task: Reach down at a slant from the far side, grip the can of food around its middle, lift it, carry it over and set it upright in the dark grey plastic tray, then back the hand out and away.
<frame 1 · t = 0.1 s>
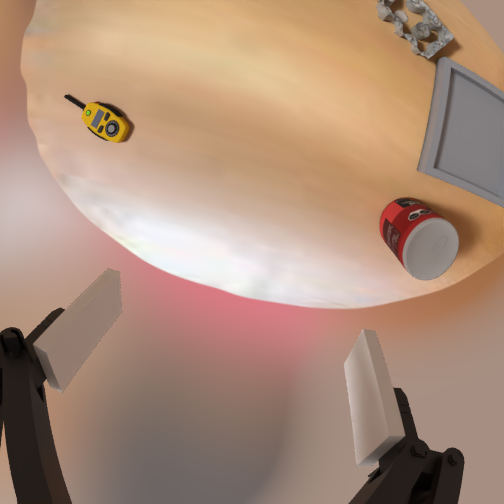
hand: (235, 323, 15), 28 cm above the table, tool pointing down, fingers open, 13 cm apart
canned food: (401, 221, 40), on the table
yellow walkie talkie: (95, 113, 38), on the table
tray: (474, 134, 32), on the table
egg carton: (408, 25, 27), on the table
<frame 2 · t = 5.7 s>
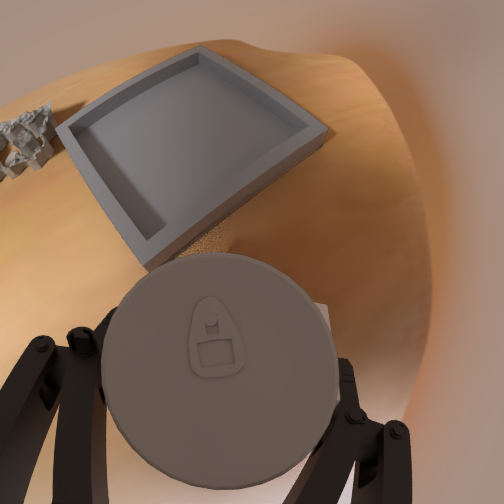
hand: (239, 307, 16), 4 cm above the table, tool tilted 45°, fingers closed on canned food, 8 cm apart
canned food: (227, 364, 19), on the table, touching gripper
tray: (179, 137, 24), on the table
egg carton: (24, 155, 24), on the table
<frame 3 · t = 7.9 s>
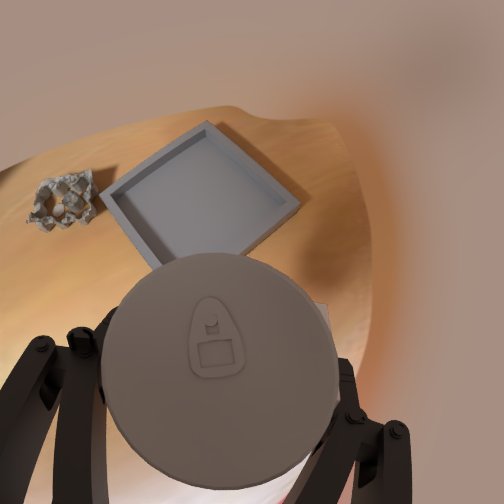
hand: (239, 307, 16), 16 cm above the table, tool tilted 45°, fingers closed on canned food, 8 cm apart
canned food: (227, 364, 19), point 13 cm above the table, touching gripper
tray: (195, 206, 36), on the table
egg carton: (69, 208, 36), on the table
when the fingers open (6 cm above the table, at t = 11.5 s): canned food drops 1 cm, resting on tray.
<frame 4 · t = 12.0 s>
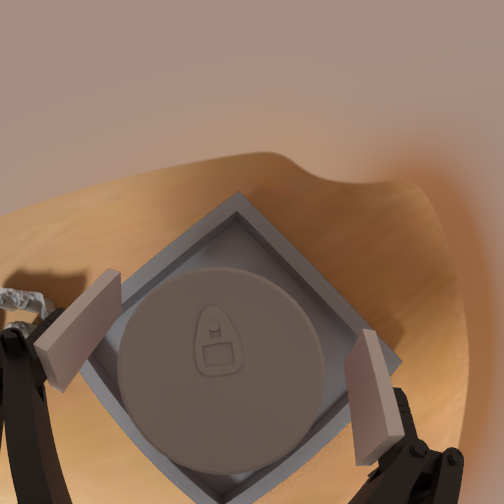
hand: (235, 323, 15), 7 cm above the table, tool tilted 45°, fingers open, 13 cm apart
canned food: (227, 364, 20), point 1 cm above the table, touching tray
tray: (228, 363, 21), on the table
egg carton: (25, 334, 20), on the table
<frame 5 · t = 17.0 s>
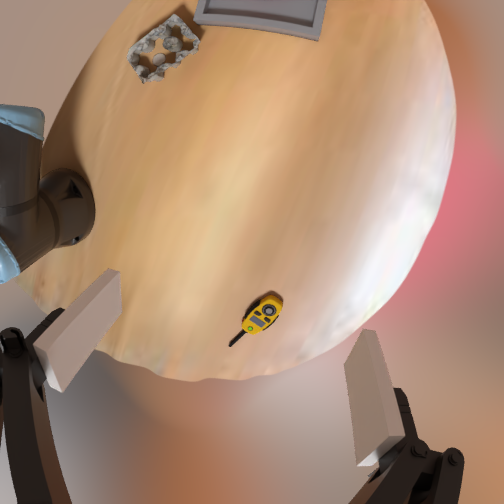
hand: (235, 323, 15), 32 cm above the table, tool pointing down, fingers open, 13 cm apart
yellow walkie talkie: (252, 321, 55), on the table
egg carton: (167, 52, 36), on the table
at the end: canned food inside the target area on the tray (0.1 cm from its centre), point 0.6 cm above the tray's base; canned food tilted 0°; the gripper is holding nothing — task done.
